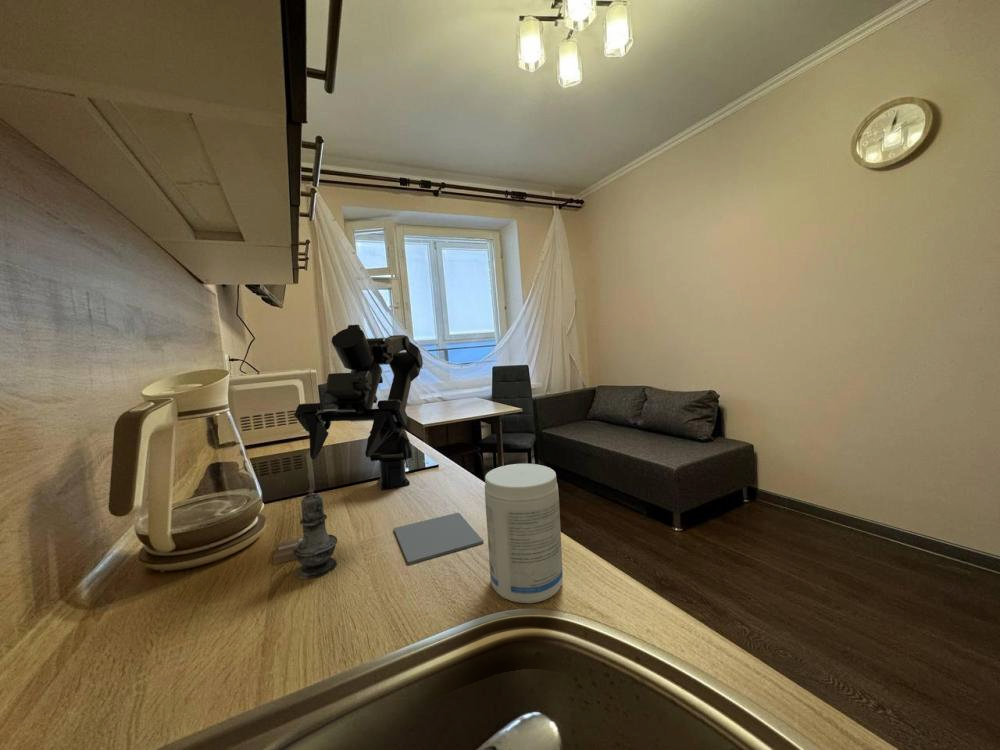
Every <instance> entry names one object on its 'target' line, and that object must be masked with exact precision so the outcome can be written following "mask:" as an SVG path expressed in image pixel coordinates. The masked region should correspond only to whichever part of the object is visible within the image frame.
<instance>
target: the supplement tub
mask: <svg viewBox="0 0 1000 750" xmlns="http://www.w3.org/2000/svg"><path fill="white" fill-rule="evenodd" d="M484 483H485V484H484V500H485V515H486V518H485V519H486V526H487V527H486V529H487V544H488V545H487V546H488V559H489V560H488V561H489V572H490V573H489V574H490V576H489V577H490V582H491V586H492V588H493V590H494V591H495V592H496V593H497V594H498V595H499V596H500V597H502V598H503V599H505V600H508V601H511V602H515V603H520V604H522V603H523V604H534V603H540V602H543V601H546V600H547V599H550V598H551V597H553V596H554V595H556V593H558V591H559V590H560V588H561V587H562V584H563V579H564V575H563V572H564V571H563V555H562V554H563V552H562V551H563V549H562V535H561V534H562V533H561V532H562V531H561V530H562V529H561V518H560V517H561V516H560V515H561V513H560V512H561V510H560V496H559V495H560V494H559V485H558V482H557V473H556V471H555V470H554V469H552V468H551V467H548V466H546V465H541V464H538V463H535V464H534V463H514V464H513V463H512V464H506V465H502V466H499V467H496V468H493V469H491V470H489V471H488V472H487V473H486V474H485V475H484Z"/></svg>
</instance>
